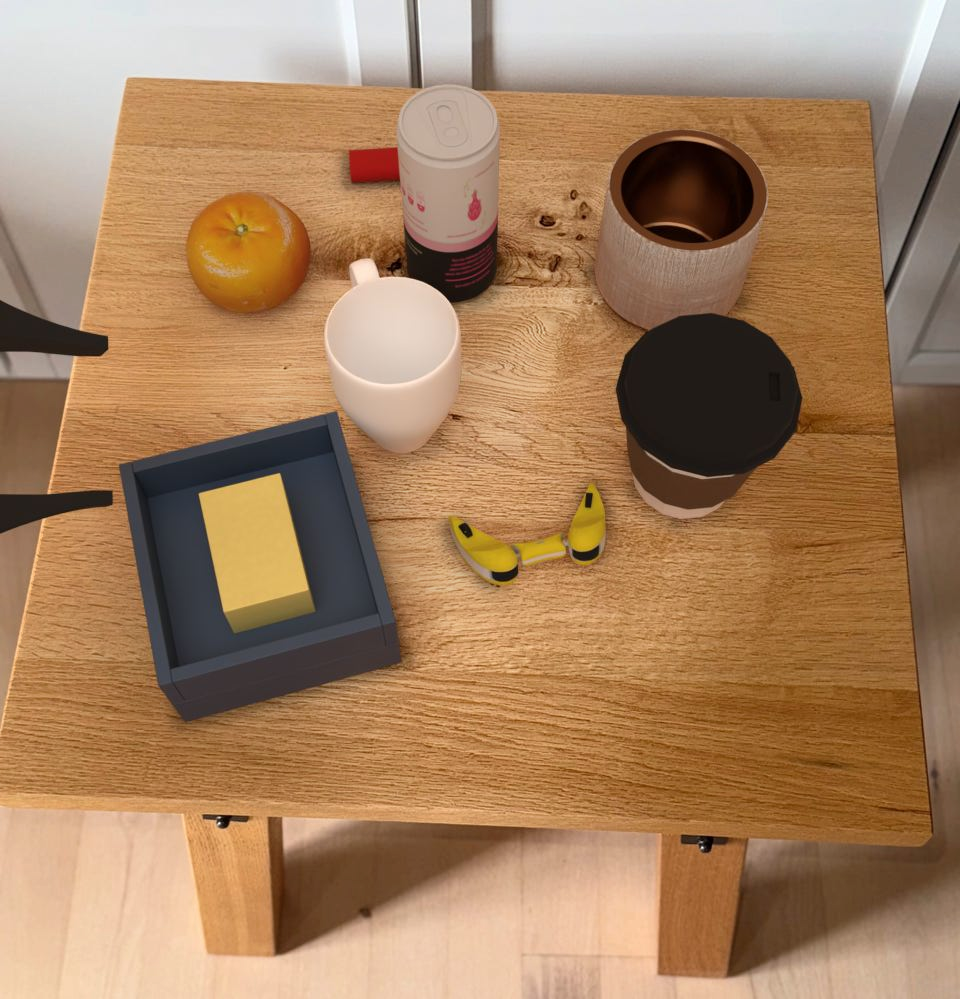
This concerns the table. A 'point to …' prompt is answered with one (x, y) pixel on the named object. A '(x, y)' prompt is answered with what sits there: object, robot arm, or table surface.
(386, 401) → the mug
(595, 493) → the game controller
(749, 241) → the planter
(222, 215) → the fruit
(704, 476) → the coffee cup
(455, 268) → the beverage can
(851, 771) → the table surface
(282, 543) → the notepads
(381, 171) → the lighter
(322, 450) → the bin
